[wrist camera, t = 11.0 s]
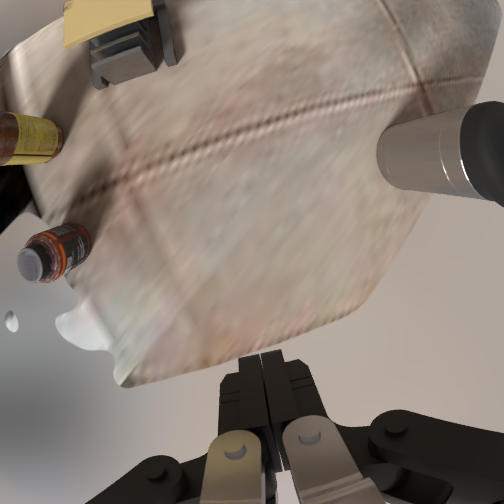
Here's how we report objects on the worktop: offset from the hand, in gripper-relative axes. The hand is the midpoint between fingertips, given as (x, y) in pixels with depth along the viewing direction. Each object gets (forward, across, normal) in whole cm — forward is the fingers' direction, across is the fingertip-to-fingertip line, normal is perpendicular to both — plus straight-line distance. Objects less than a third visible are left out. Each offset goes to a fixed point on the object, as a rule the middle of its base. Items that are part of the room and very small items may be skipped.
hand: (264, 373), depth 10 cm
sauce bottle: (+29, +24, -19) cm, 42 cm away
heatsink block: (+29, +9, -28) cm, 41 cm away
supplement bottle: (+29, +23, -4) cm, 37 cm away
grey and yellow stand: (+29, +9, -28) cm, 41 cm away
